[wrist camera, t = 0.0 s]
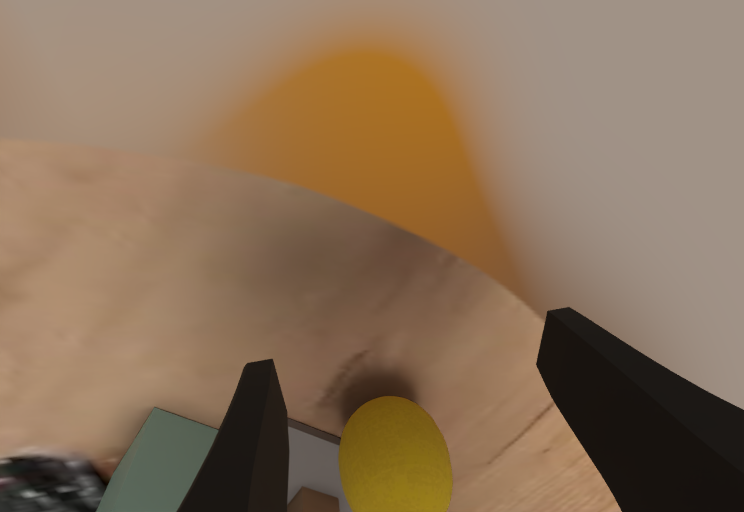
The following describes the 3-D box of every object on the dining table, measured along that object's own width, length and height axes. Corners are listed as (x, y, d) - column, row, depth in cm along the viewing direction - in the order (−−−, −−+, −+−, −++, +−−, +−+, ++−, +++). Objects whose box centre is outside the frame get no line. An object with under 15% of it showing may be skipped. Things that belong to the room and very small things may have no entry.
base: (332, 563, 31) (333, 572, 30) (197, 527, 27) (195, 537, 26) (416, 468, 28) (419, 475, 28) (279, 415, 25) (279, 422, 24)
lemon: (318, 430, 26) (327, 574, 18) (355, 355, 24) (382, 482, 17) (400, 448, 27) (439, 586, 20) (441, 379, 26) (499, 504, 18)
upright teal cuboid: (201, 498, 26) (174, 626, 20) (113, 473, 24) (54, 605, 18) (244, 439, 25) (228, 556, 19) (154, 407, 23) (105, 526, 17)
